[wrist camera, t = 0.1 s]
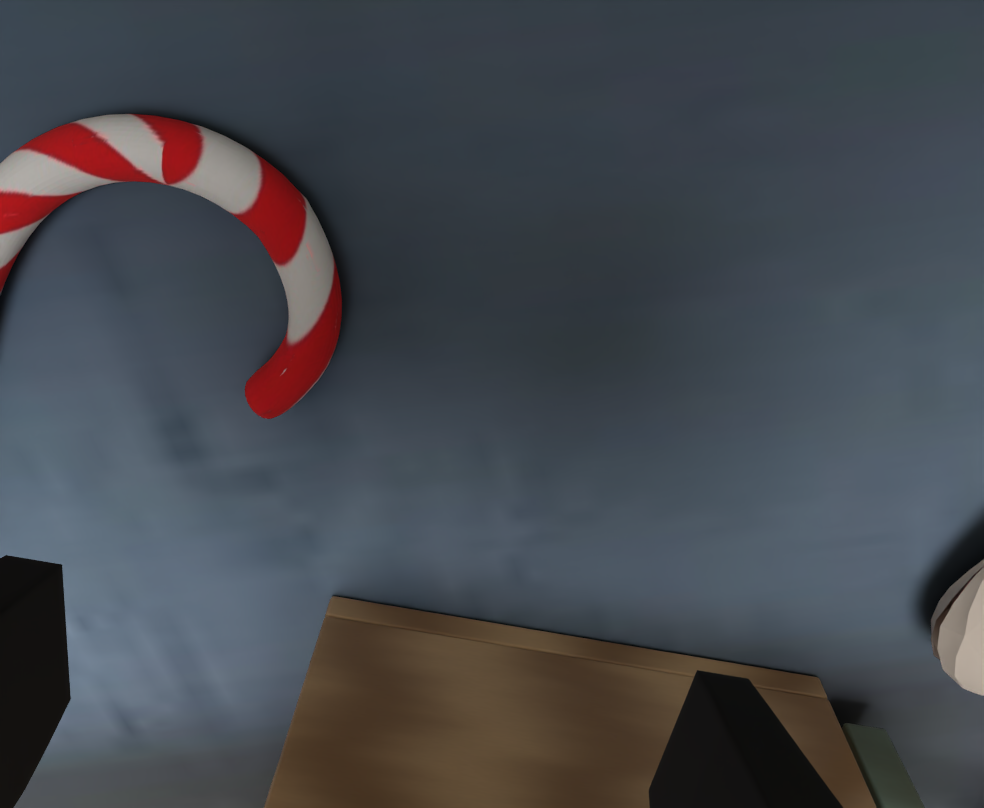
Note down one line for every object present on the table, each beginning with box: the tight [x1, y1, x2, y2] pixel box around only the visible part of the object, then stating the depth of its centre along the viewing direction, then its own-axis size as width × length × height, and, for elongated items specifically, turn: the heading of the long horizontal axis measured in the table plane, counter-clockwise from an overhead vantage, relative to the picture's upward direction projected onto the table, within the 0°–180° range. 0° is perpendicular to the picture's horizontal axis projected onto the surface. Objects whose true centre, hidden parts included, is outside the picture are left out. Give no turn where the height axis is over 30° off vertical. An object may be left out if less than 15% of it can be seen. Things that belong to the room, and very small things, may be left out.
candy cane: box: [0, 114, 342, 419], centre depth 19 cm, size 8×1×15 cm
